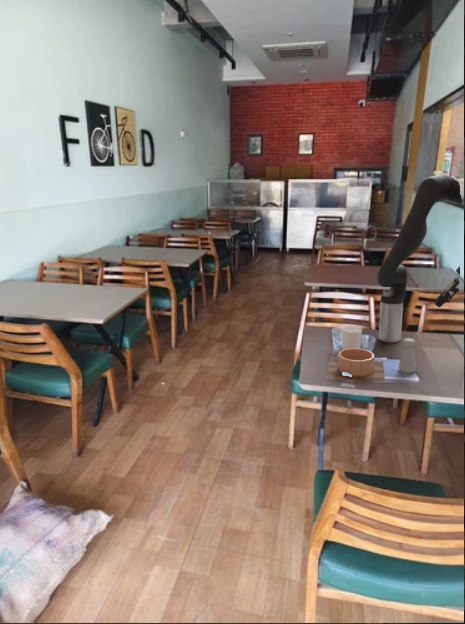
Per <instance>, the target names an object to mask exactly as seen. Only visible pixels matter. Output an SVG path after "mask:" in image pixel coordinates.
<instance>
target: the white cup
mask: <svg viewBox="0 0 465 624" xmlns="http://www.w3.org/2000/svg"><path fill="white" fill-rule="evenodd" d="M362 333H363V329H362V327H359V326H355V325H354V326H353V325H347V326H343V327H342V329H341V338H342V339H341V340H342V342H341V343H342V350H343V349H350V348H358V349H361V345H362V344H361V343H362Z"/></svg>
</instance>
